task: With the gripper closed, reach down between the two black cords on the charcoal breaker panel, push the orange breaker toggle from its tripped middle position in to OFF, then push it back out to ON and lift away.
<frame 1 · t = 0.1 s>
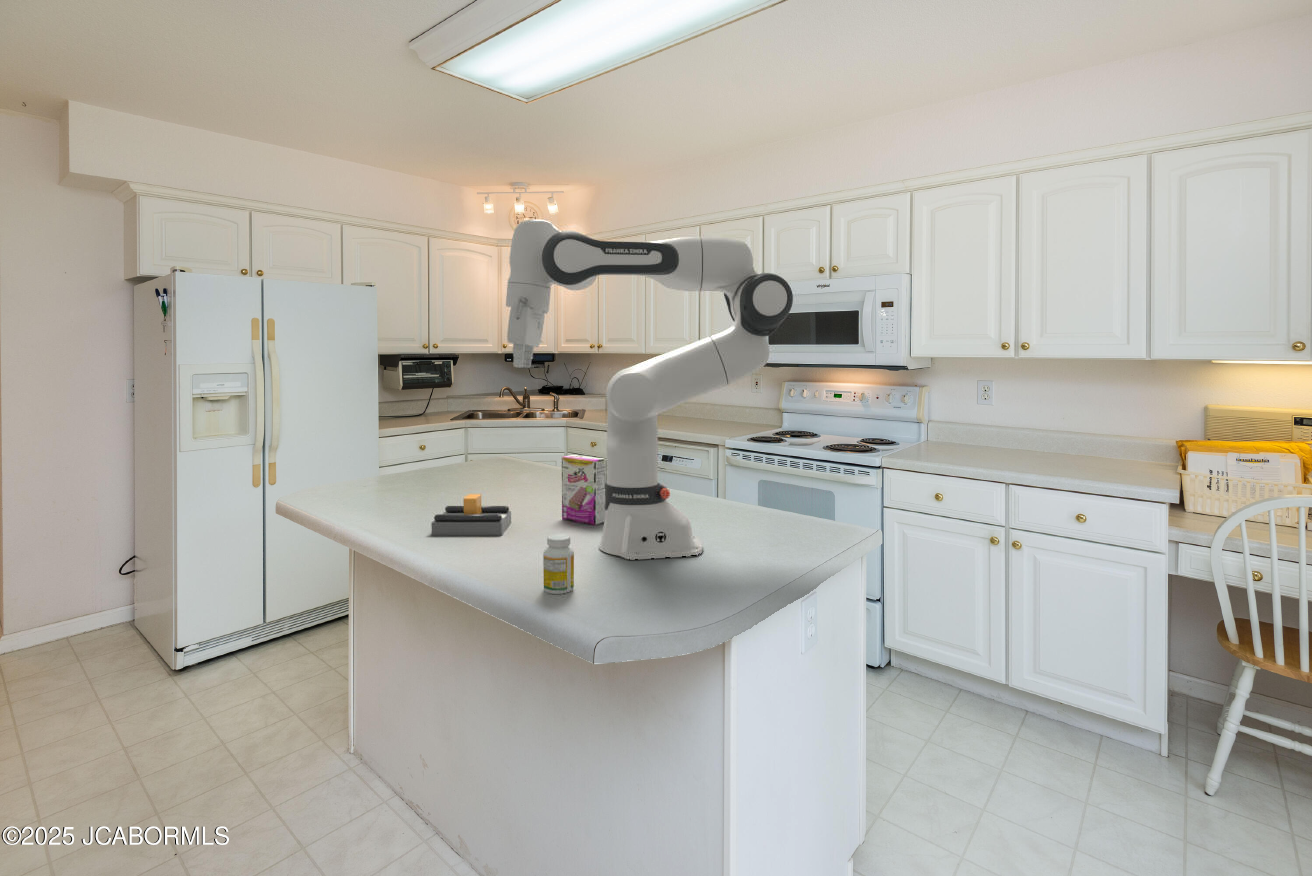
hand: (522, 367, 134), 39 cm above the countertop, tool pointing down, fingers open, 8 cm apart
candy bar box: (584, 521, 163), on the countertop
supplement bottle: (558, 590, 113), on the countertop
breaker panel: (473, 528, 154), on the countertop
breaker toggle: (472, 505, 153), point 6 cm above the countertop, slide at 0.0 cm
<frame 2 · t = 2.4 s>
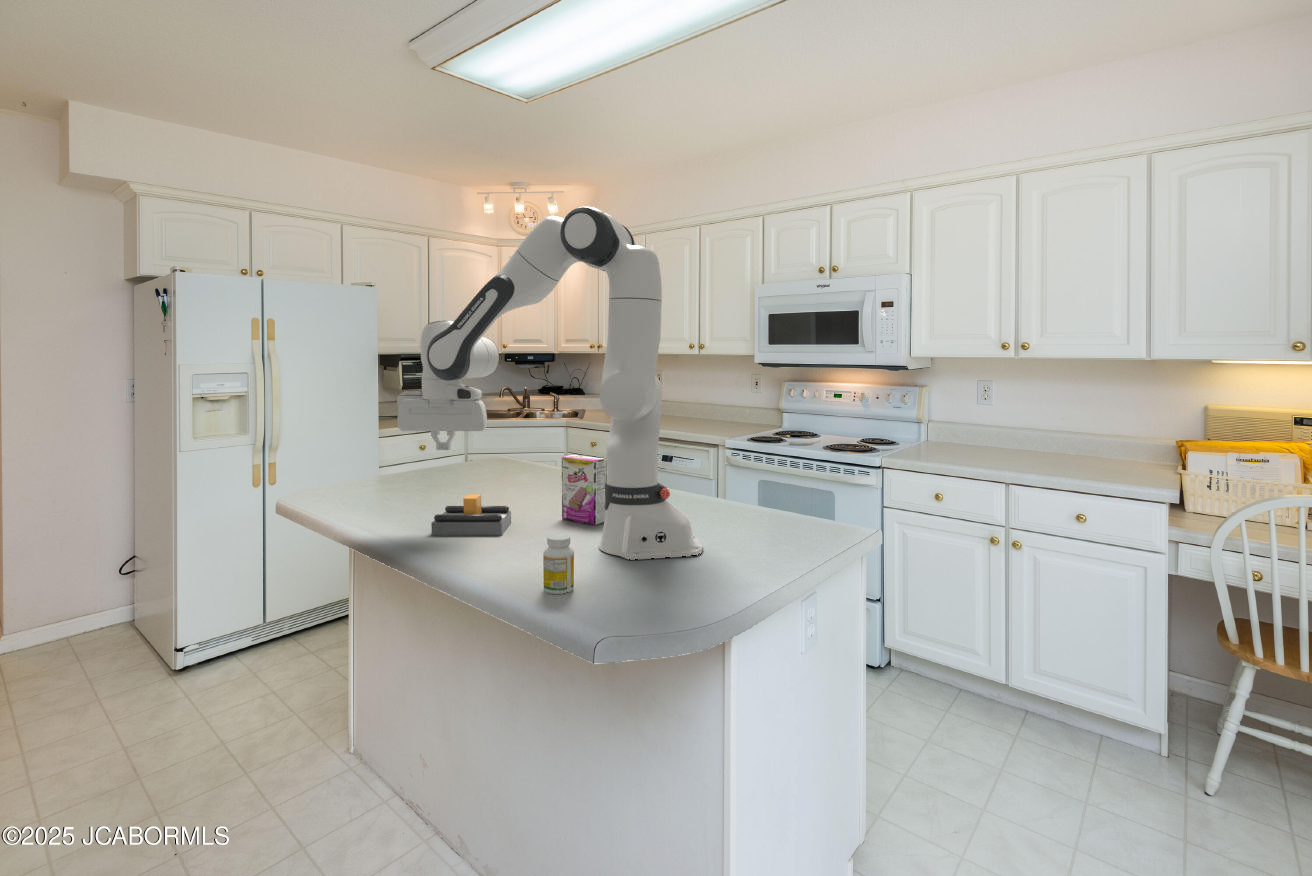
hand: (443, 450, 151), 19 cm above the countertop, tool pointing down, fingers closed
nothing on the countertop moved.
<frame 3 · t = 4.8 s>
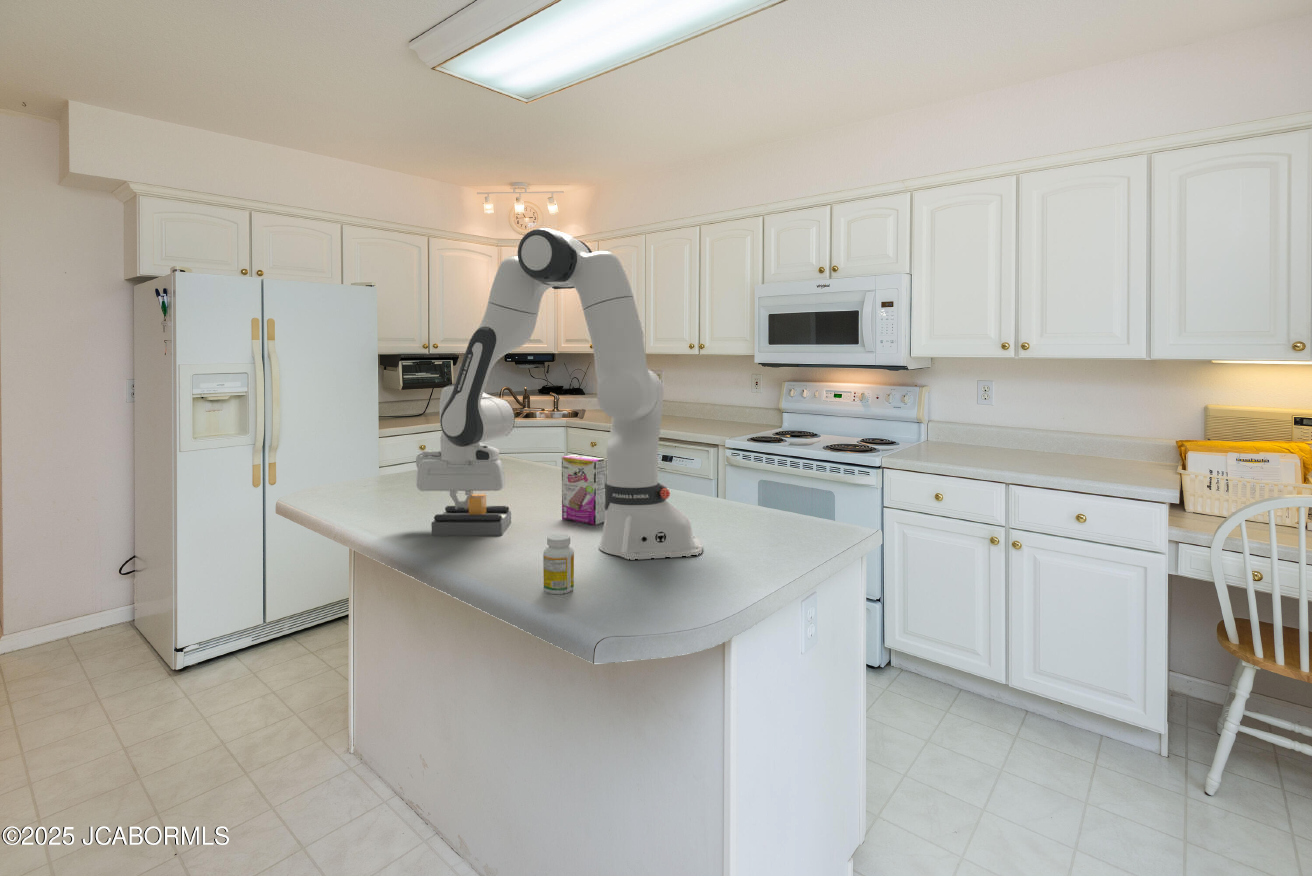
hand: (461, 508, 153), 5 cm above the countertop, tool pointing down, fingers closed
breaker toggle: (477, 505, 153), point 6 cm above the countertop, slide at -1.2 cm, touching gripper
everything else where it was.
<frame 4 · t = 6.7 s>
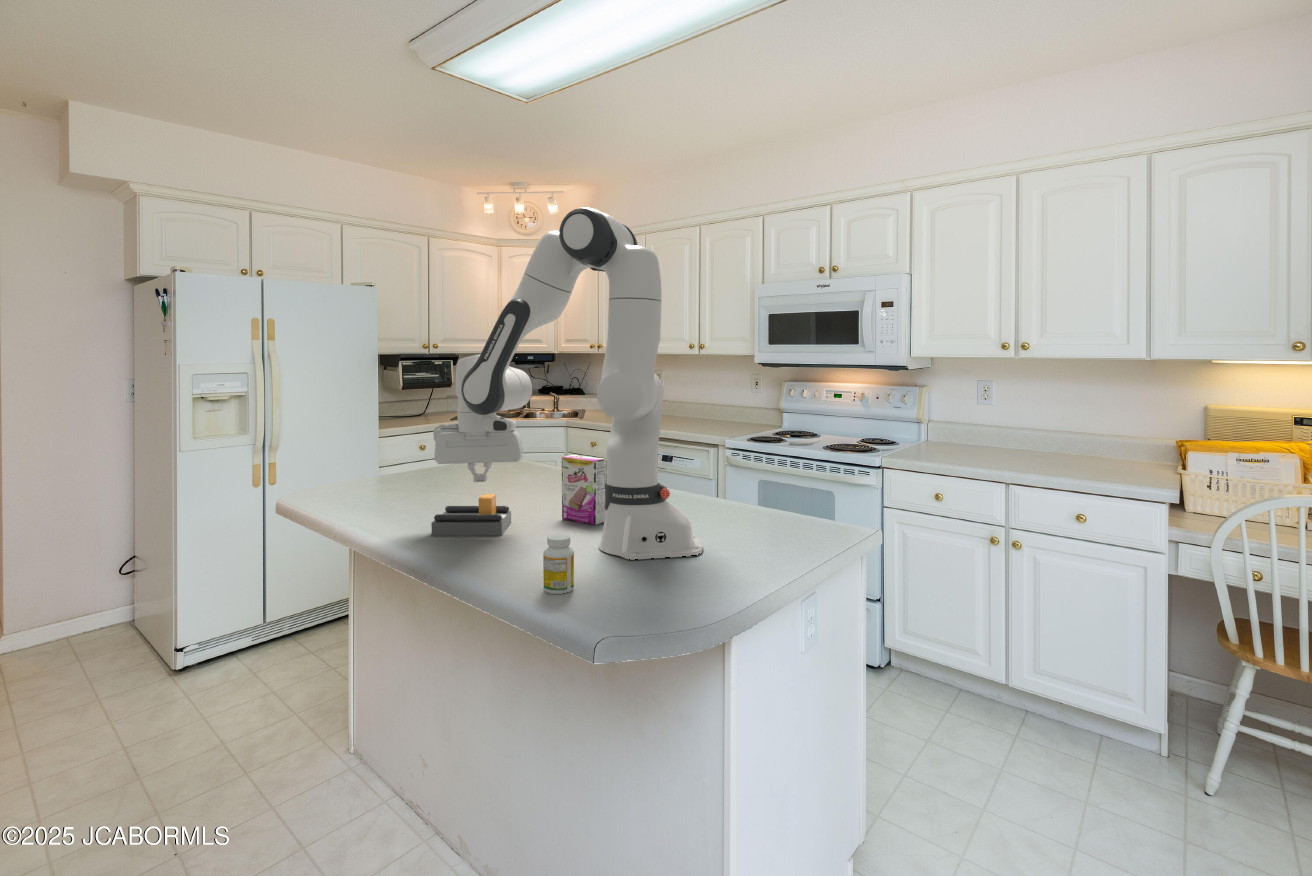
hand: (480, 481, 152), 12 cm above the countertop, tool pointing down, fingers closed
breaker toggle: (487, 505, 153), point 6 cm above the countertop, slide at -3.5 cm
everything else where it was.
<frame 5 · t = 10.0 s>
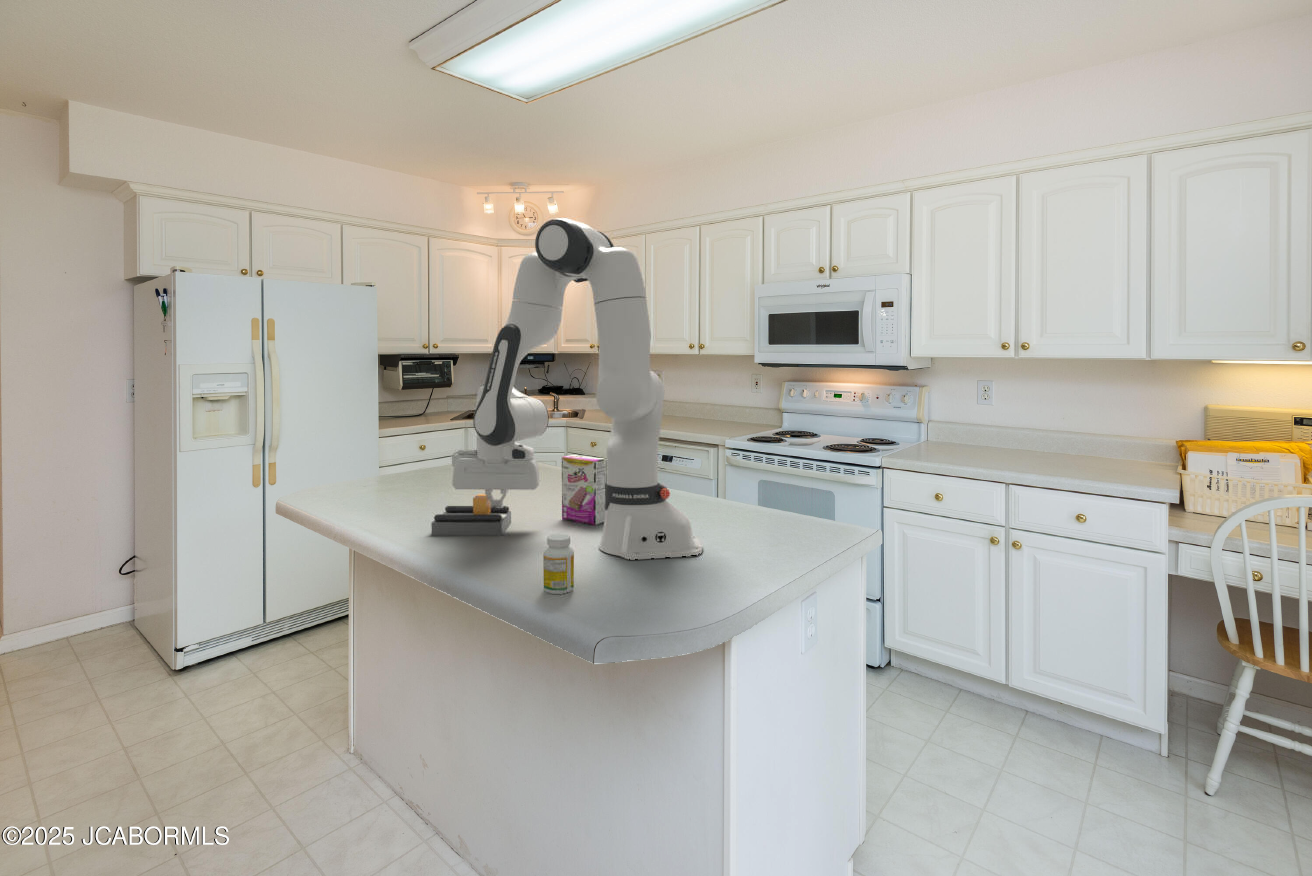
hand: (496, 507, 154), 5 cm above the countertop, tool pointing down, fingers closed
breaker toggle: (481, 505, 153), point 6 cm above the countertop, slide at -2.2 cm, touching gripper
everything else where it was.
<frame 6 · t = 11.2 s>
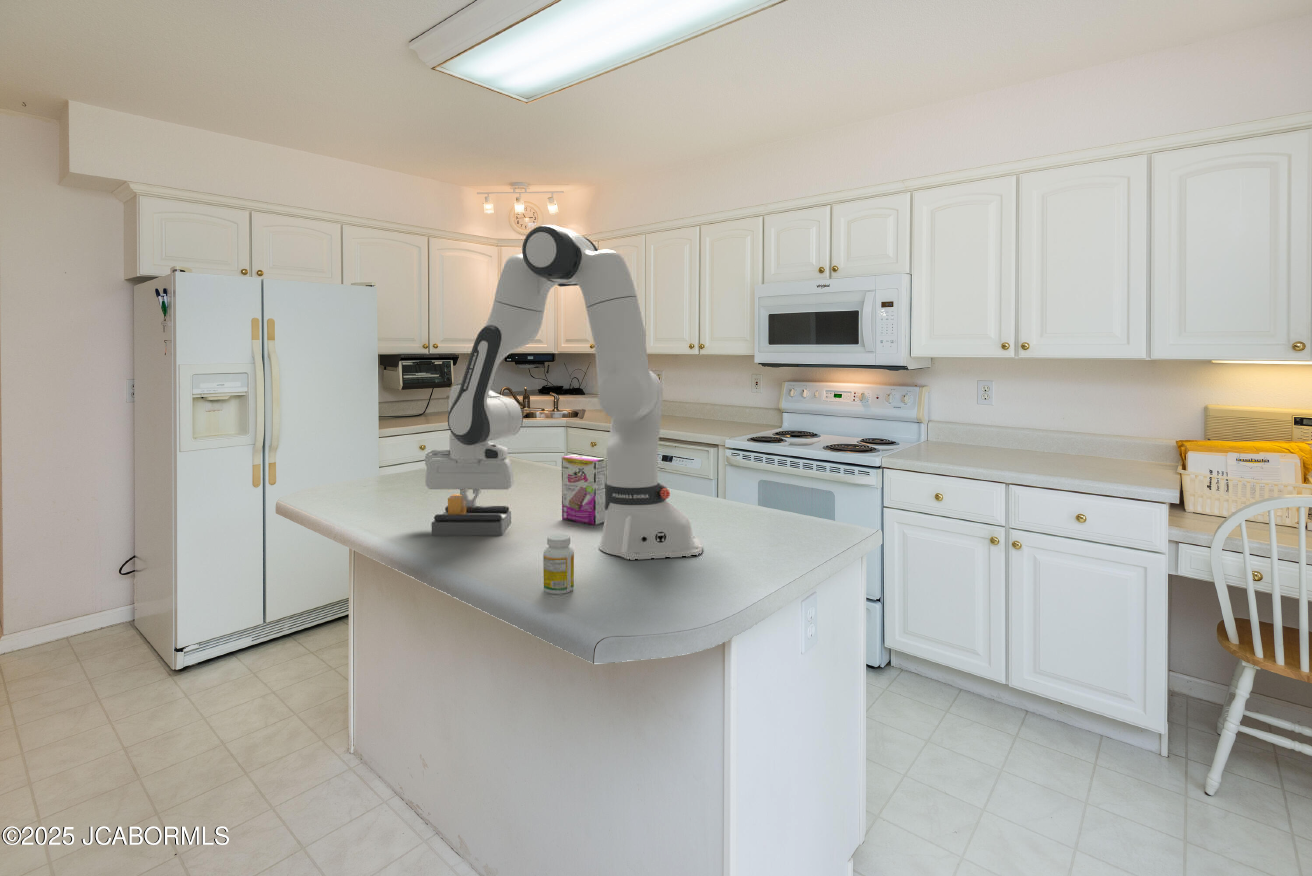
hand: (470, 507, 153), 5 cm above the countertop, tool pointing down, fingers closed
breaker toggle: (457, 505, 153), point 6 cm above the countertop, slide at 3.6 cm, touching gripper
everything else where it was.
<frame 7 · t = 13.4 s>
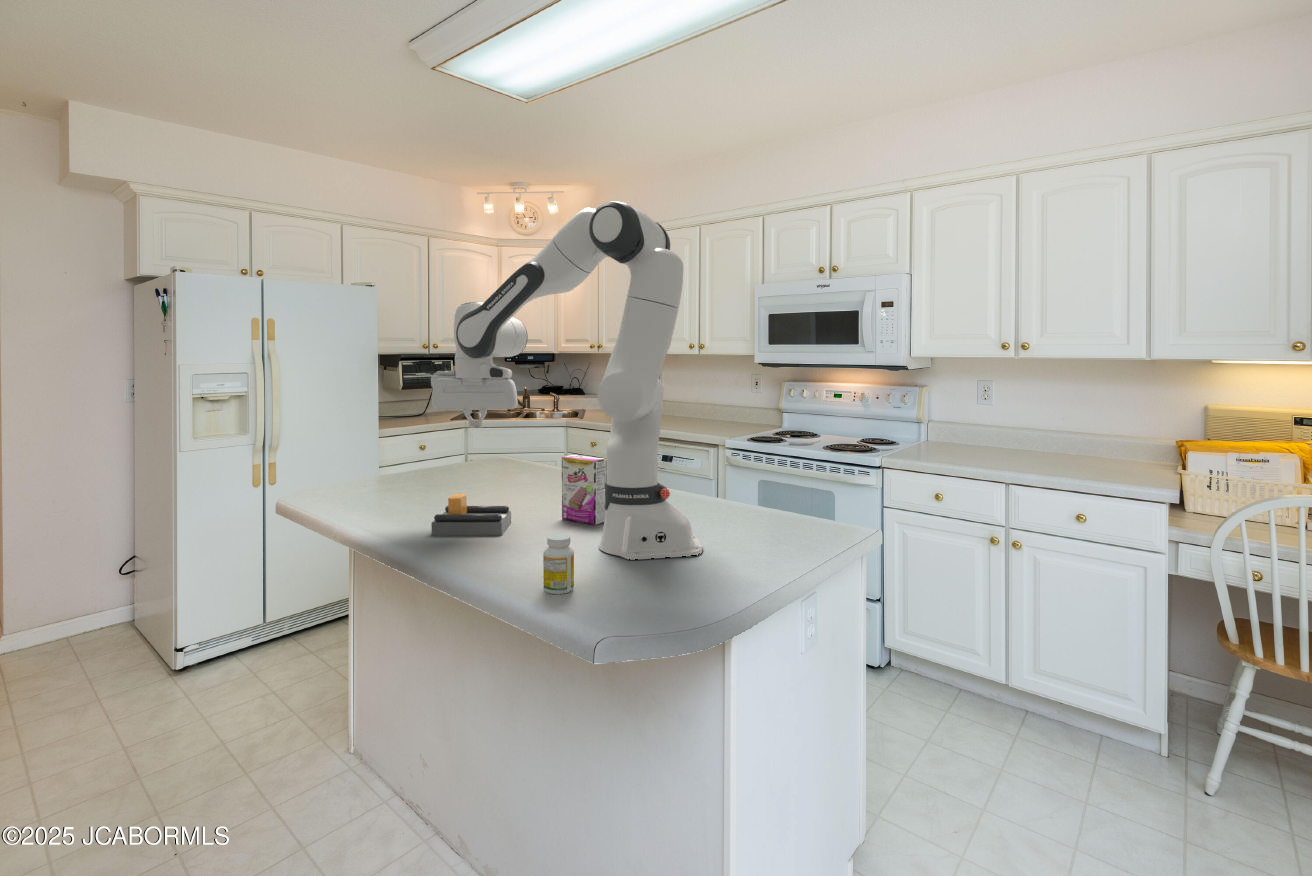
hand: (475, 427, 157), 24 cm above the countertop, tool pointing down, fingers closed
breaker toggle: (457, 505, 153), point 6 cm above the countertop, slide at 3.5 cm
everything else where it was.
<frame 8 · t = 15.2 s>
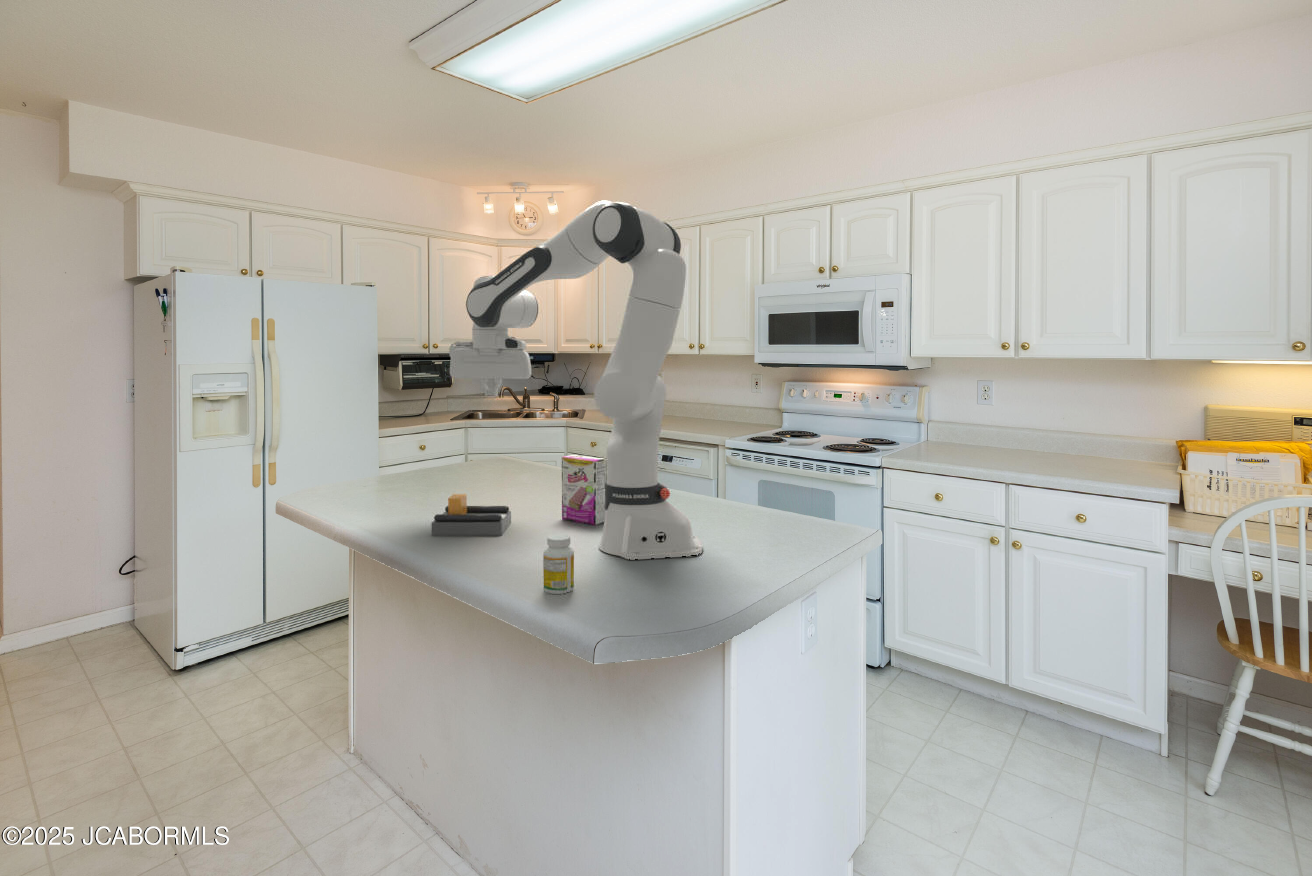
hand: (491, 396, 164), 31 cm above the countertop, tool pointing down, fingers closed
nothing on the countertop moved.
at the end: breaker toggle slide at 3.5 cm; breaker toggle touching nothing; candy bar box moved 0.2 cm from its start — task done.
